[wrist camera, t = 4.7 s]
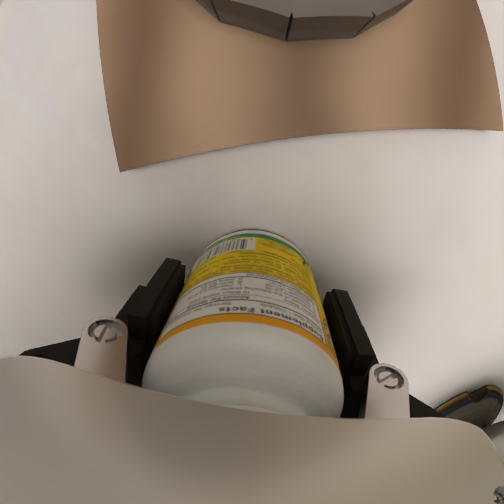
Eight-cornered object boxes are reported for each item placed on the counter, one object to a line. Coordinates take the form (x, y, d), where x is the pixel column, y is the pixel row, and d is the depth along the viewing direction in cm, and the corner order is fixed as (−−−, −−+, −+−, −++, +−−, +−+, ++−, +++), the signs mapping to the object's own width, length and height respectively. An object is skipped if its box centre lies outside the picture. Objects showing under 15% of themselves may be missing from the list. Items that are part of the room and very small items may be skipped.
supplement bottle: (219, 205, 12) (118, 390, 3) (336, 259, 13) (423, 462, 4) (177, 308, 14) (99, 494, 5) (279, 349, 15) (284, 538, 6)
